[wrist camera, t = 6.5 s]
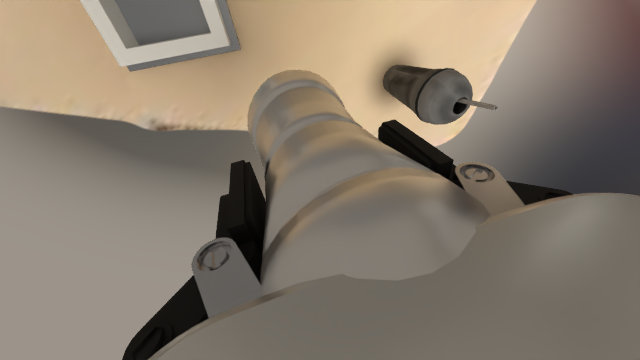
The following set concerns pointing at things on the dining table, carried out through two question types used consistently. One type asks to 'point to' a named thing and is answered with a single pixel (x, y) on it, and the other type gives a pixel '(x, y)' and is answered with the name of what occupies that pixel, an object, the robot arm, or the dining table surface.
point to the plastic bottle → (346, 193)
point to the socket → (163, 30)
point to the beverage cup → (432, 92)
